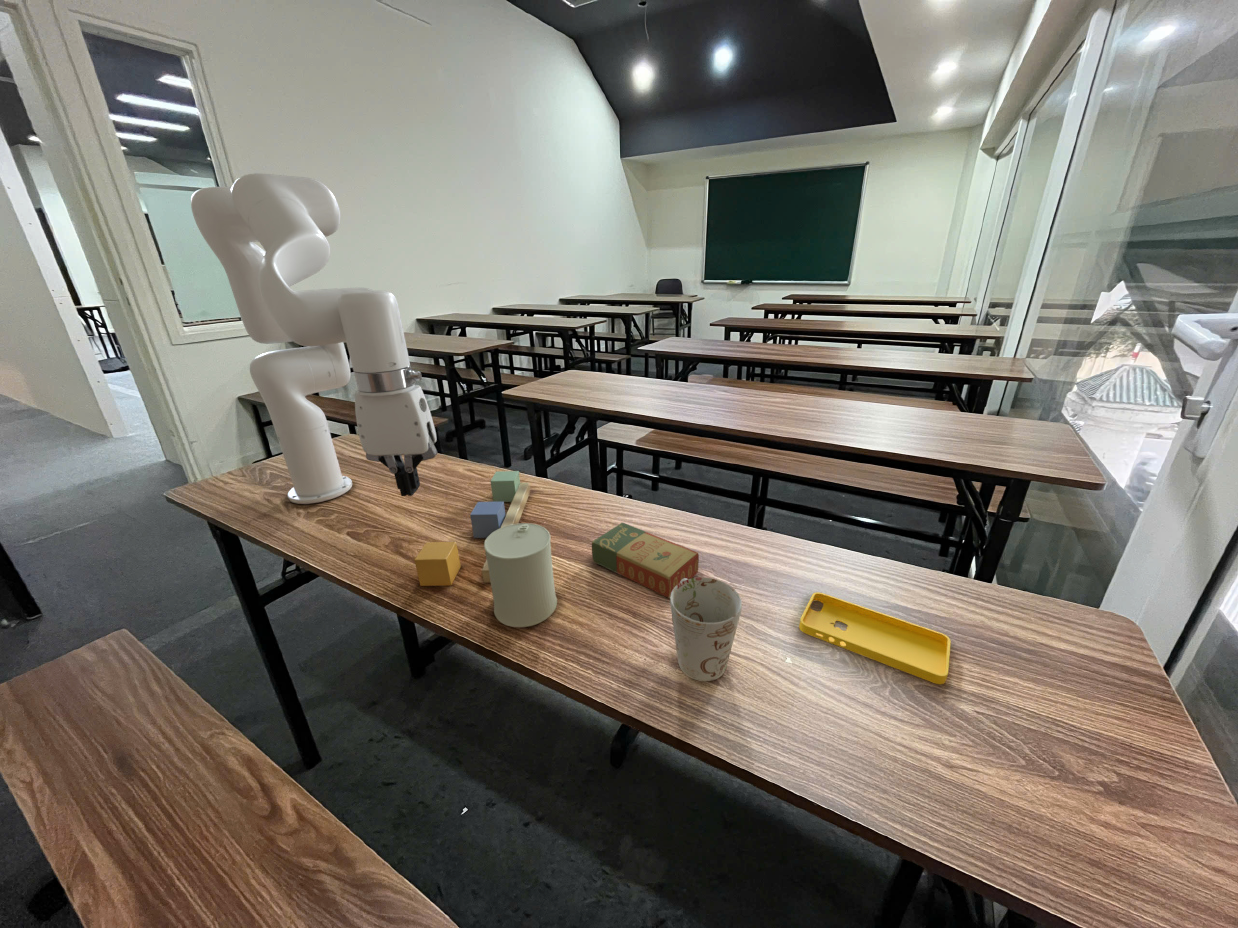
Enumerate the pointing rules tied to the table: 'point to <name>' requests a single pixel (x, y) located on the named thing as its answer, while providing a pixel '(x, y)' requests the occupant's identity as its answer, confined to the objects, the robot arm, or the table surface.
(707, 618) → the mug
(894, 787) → the table surface
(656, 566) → the carton
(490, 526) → the block mid
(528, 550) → the can
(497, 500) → the block far
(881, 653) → the phone case
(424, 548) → the block near
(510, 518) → the wooden bar
